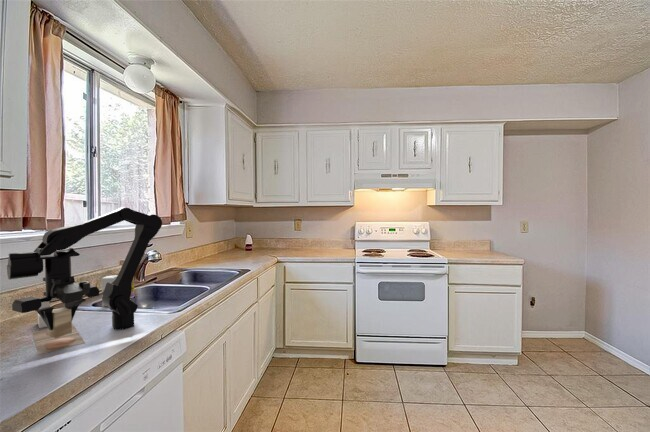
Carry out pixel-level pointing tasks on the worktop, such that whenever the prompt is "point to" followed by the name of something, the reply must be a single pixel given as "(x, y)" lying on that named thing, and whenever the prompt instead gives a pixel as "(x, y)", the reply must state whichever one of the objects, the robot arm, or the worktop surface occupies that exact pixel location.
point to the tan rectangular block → (61, 322)
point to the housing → (41, 322)
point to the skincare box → (104, 282)
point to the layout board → (56, 340)
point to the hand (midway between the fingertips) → (60, 327)
